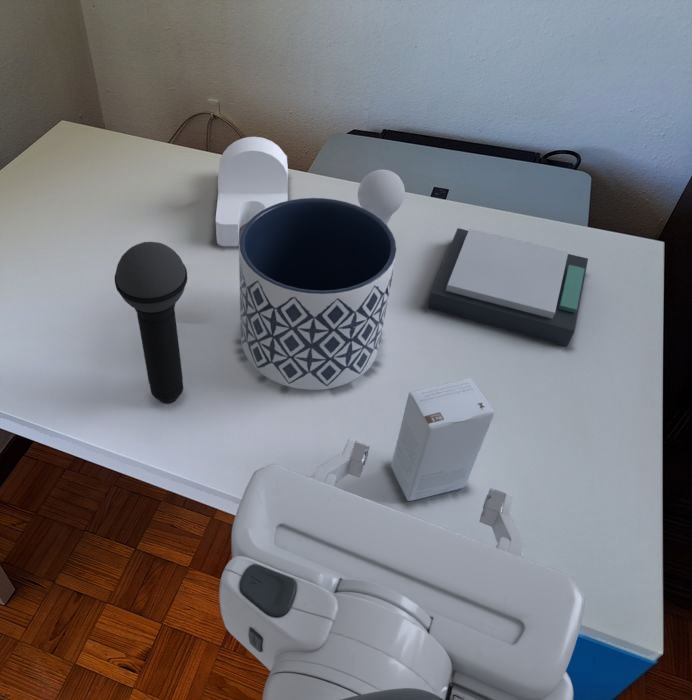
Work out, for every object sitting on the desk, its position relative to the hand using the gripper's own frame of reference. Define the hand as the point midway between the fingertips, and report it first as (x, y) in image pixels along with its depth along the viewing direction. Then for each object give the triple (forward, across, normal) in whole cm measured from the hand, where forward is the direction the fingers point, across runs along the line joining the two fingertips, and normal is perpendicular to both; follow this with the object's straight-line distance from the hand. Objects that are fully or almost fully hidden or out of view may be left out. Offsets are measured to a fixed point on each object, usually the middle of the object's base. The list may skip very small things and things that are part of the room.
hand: (426, 470), depth 46 cm
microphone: (+11, +28, +18) cm, 35 cm away
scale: (+43, -2, +18) cm, 47 cm away
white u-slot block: (+47, +34, +18) cm, 61 cm away
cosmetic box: (+12, 0, +18) cm, 22 cm away
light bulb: (+47, +16, +18) cm, 53 cm away
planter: (+25, +17, +18) cm, 35 cm away
